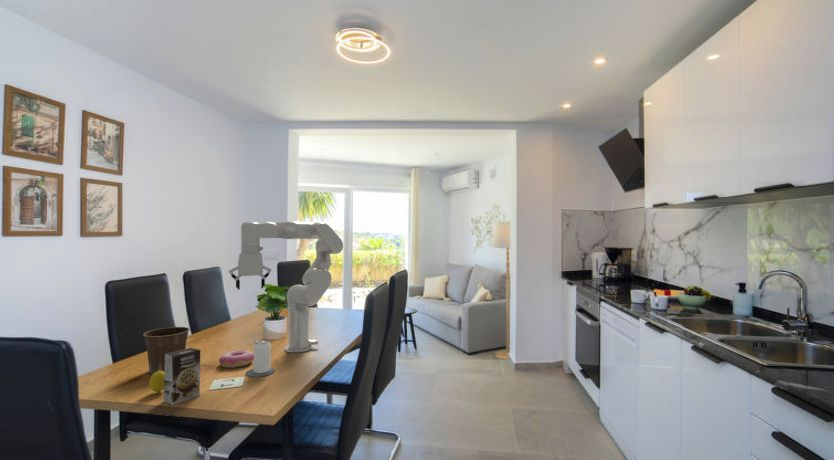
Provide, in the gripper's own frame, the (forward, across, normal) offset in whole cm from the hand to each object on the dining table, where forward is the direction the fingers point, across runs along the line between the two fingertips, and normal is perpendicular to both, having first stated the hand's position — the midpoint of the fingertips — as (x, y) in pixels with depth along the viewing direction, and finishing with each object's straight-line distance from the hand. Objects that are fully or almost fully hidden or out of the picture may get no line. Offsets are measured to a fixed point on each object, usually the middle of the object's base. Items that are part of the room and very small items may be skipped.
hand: (250, 288), depth 173 cm
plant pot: (+32, +32, -1) cm, 46 cm away
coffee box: (+32, +21, +34) cm, 51 cm away
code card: (+32, +7, +24) cm, 41 cm away
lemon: (+32, +29, +25) cm, 50 cm away
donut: (+33, +5, +1) cm, 33 cm away
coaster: (+32, -4, +16) cm, 36 cm away
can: (+32, -5, +16) cm, 36 cm away
